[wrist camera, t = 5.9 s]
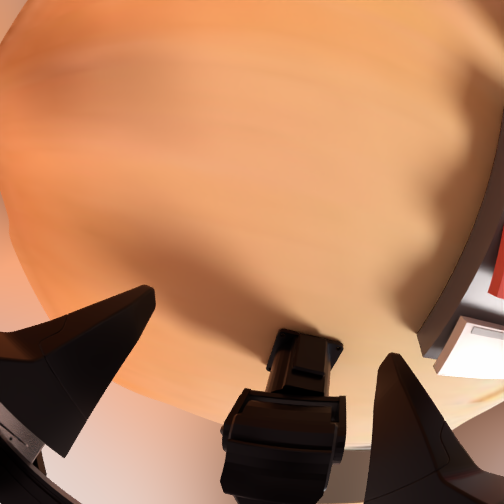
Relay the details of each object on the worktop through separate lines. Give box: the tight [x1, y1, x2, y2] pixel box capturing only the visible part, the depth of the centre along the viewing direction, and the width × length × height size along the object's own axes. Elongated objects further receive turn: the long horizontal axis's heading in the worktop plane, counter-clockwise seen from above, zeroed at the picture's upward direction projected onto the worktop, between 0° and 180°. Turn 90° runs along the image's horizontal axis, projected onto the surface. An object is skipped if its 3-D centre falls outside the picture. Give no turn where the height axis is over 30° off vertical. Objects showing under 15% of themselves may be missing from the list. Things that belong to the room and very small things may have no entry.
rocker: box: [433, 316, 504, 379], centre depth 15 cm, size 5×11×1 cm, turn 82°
